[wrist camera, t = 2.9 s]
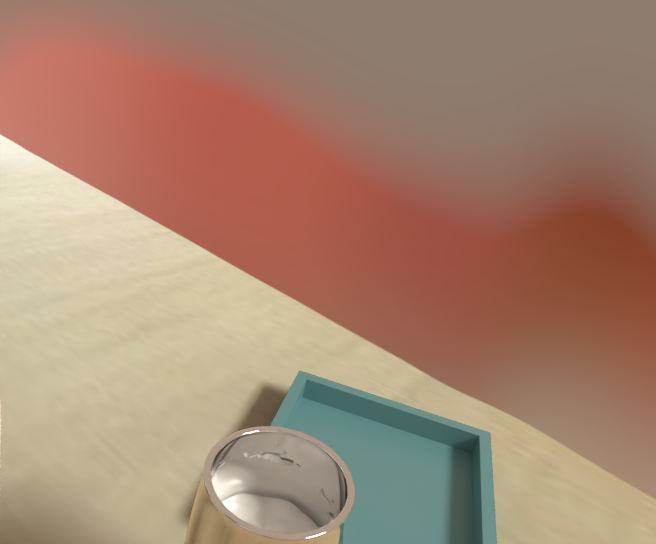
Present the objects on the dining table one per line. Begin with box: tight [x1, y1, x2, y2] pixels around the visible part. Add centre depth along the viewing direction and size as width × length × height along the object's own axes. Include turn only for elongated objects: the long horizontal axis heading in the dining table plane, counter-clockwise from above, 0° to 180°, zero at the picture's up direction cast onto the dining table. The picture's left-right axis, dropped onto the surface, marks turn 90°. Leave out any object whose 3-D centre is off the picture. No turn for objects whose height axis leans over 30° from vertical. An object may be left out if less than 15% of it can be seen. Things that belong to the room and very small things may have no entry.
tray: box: [270, 371, 497, 544], centre depth 46 cm, size 18×18×3 cm
